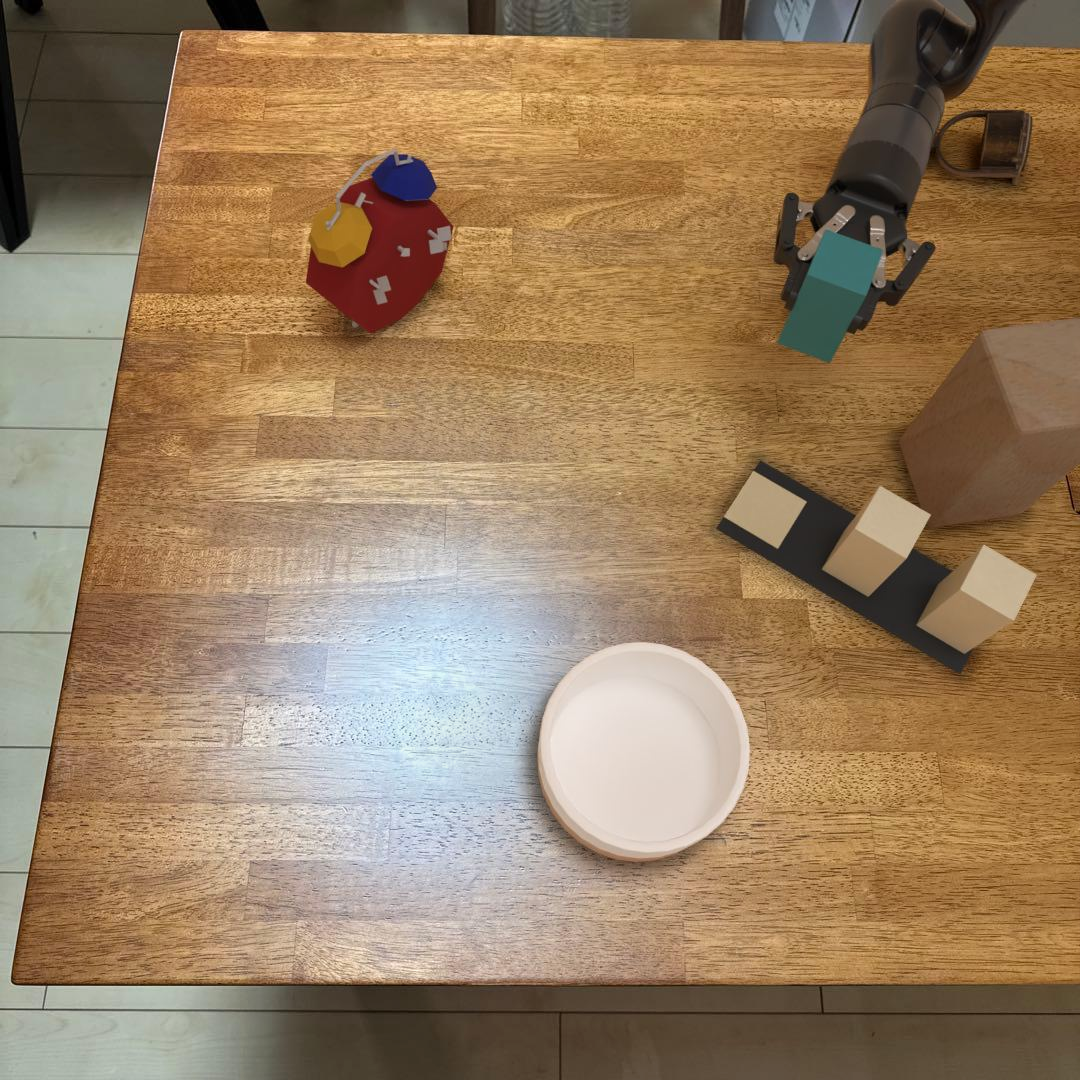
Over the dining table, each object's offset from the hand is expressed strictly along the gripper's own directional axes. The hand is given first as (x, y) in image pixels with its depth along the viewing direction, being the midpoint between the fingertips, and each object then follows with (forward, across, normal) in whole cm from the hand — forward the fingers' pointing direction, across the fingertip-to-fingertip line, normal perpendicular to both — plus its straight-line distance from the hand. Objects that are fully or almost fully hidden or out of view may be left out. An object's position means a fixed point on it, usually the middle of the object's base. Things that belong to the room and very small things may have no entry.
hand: (822, 315), depth 85 cm
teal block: (-3, 0, +6) cm, 7 cm away
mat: (+10, +13, +20) cm, 26 cm away
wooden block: (-3, +19, +20) cm, 28 cm away
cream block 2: (+12, +22, +19) cm, 32 cm away
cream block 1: (+10, +13, +19) cm, 25 cm away
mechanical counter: (-44, +10, +20) cm, 49 cm away
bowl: (+37, 0, +20) cm, 42 cm away
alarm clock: (+2, -41, +20) cm, 46 cm away
